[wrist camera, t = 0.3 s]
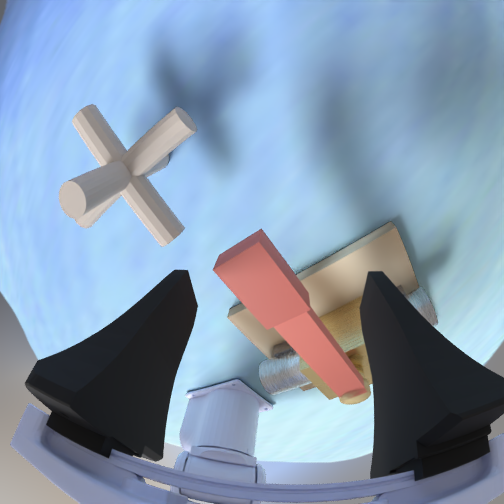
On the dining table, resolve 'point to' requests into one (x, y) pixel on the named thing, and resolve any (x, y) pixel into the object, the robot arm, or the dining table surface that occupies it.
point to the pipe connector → (126, 172)
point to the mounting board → (338, 282)
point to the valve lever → (288, 312)
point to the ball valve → (347, 336)
